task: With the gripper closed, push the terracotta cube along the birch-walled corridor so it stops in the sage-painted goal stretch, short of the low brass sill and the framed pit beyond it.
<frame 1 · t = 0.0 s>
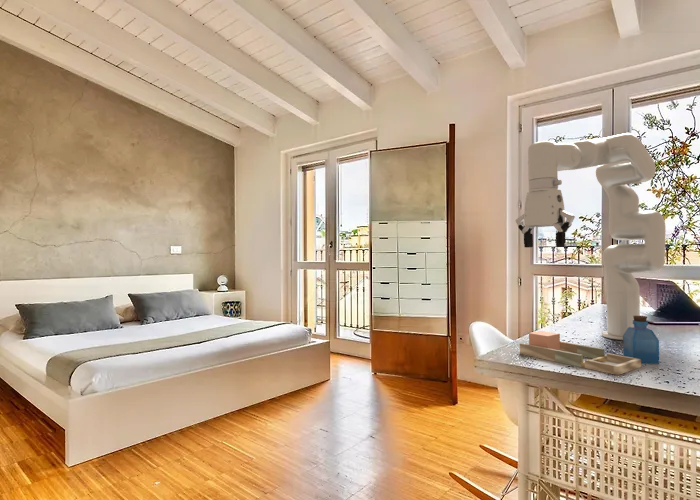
hand: (544, 247, 122), 31 cm above the table, tool pointing down, fingers open, 9 cm apart
block: (544, 353, 127), on the table
perfume bottle: (640, 361, 117), on the table
corridor: (560, 356, 123), on the table
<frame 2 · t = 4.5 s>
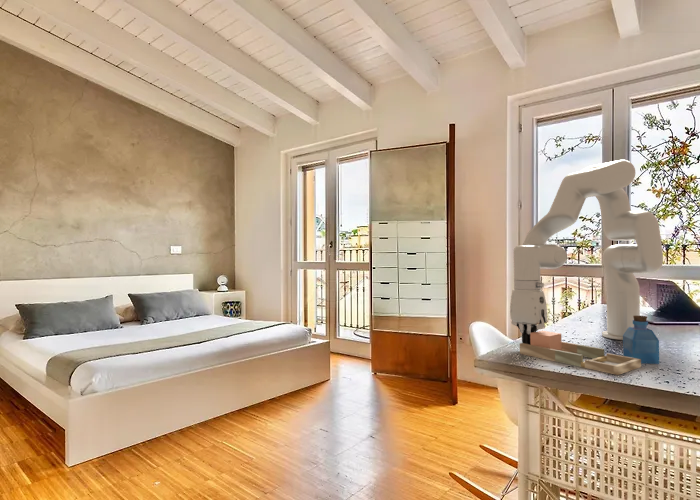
hand: (528, 346, 131), 1 cm above the table, tool pointing down, fingers closed
block: (546, 353, 126), on the table, touching gripper
everything else where it was.
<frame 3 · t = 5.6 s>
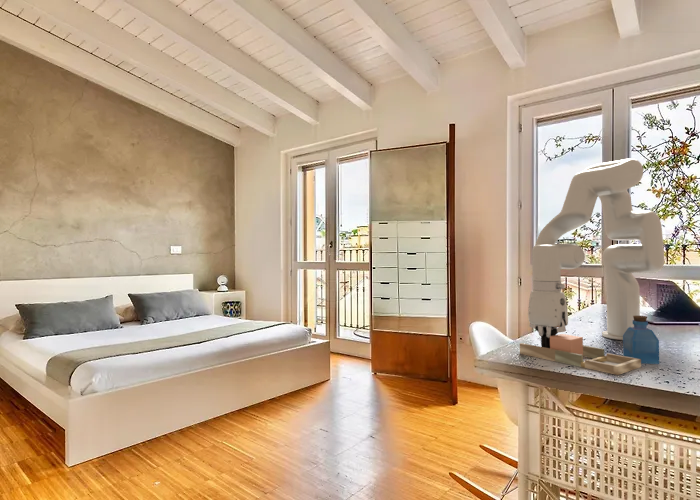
hand: (547, 349, 126), 1 cm above the table, tool pointing down, fingers closed
block: (566, 358, 121), on the table, touching gripper
everything else where it was.
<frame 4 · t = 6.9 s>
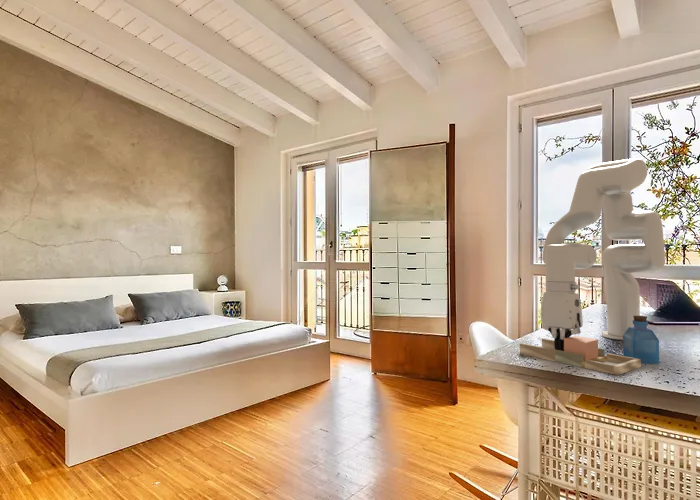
hand: (561, 352, 122), 1 cm above the table, tool pointing down, fingers closed
block: (580, 361, 117), on the table, touching corridor, gripper
everything else where it was.
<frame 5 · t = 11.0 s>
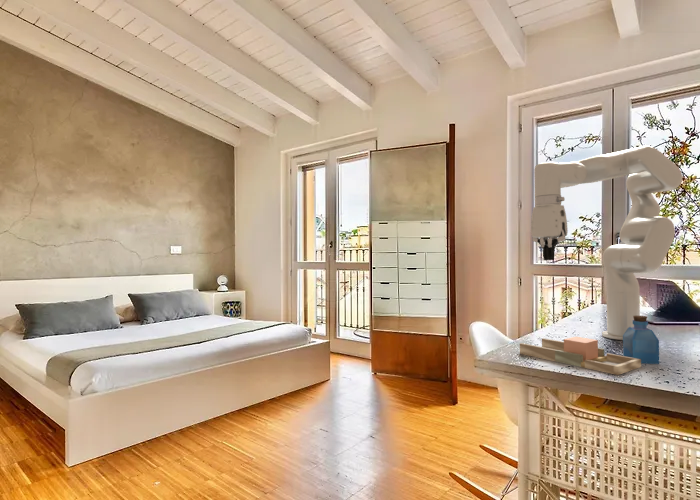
hand: (548, 259, 137), 27 cm above the table, tool pointing down, fingers closed
block: (581, 361, 117), on the table
everything else where it was.
at the end: block inside the target area (1.1 cm from its centre), on the table; block tilted 0° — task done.
